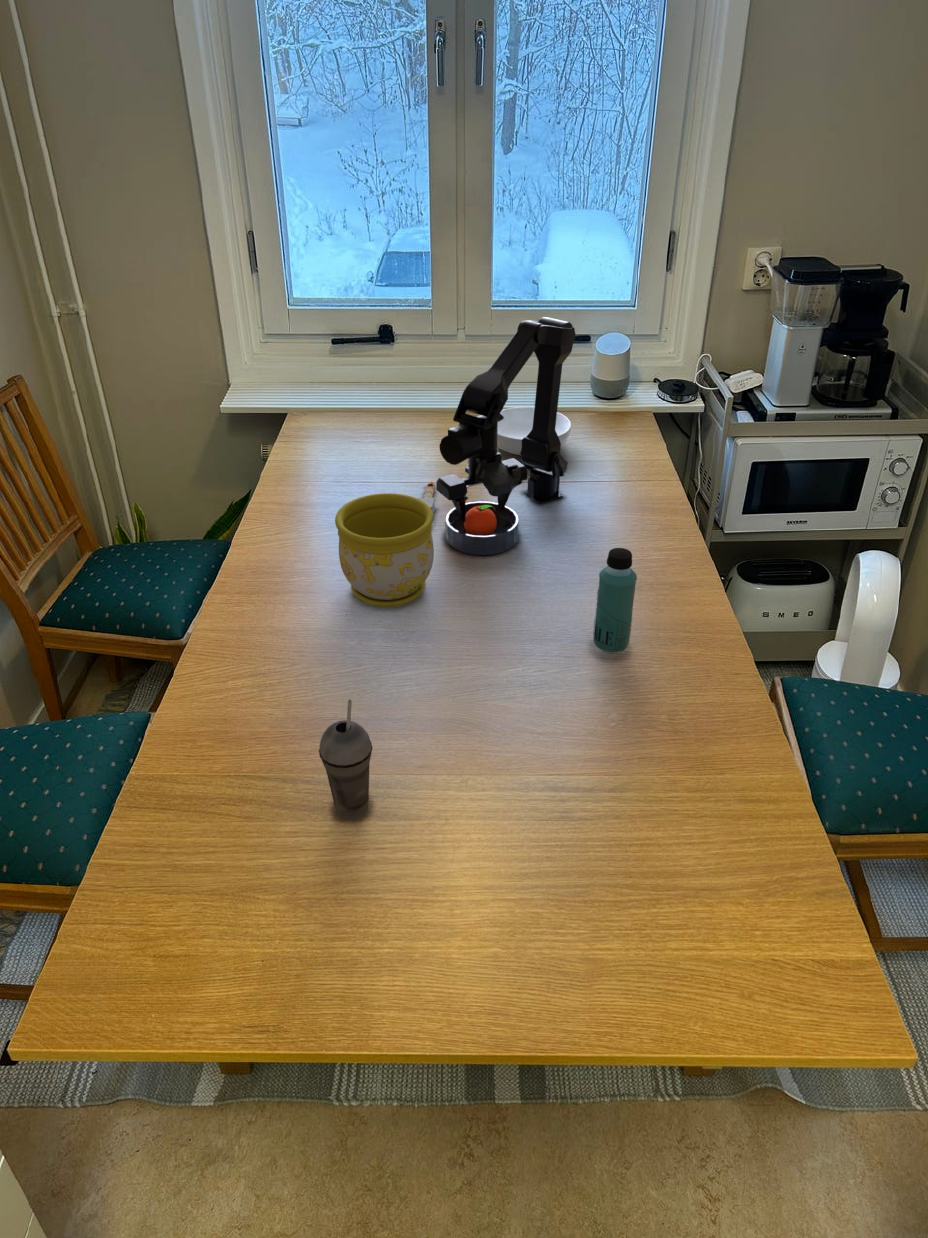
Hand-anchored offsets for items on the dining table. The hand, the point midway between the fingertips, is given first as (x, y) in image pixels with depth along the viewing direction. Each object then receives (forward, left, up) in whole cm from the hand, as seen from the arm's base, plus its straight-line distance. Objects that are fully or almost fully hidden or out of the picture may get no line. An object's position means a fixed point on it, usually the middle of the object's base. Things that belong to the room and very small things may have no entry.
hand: (482, 515), depth 191 cm
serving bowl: (-33, -32, -5) cm, 46 cm away
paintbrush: (+4, -17, -5) cm, 18 cm away
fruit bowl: (0, 0, -5) cm, 5 cm away
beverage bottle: (+1, +45, -5) cm, 45 cm away
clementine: (0, 0, -5) cm, 5 cm away
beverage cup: (+56, +56, -5) cm, 79 cm away
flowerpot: (+26, +8, -5) cm, 28 cm away
